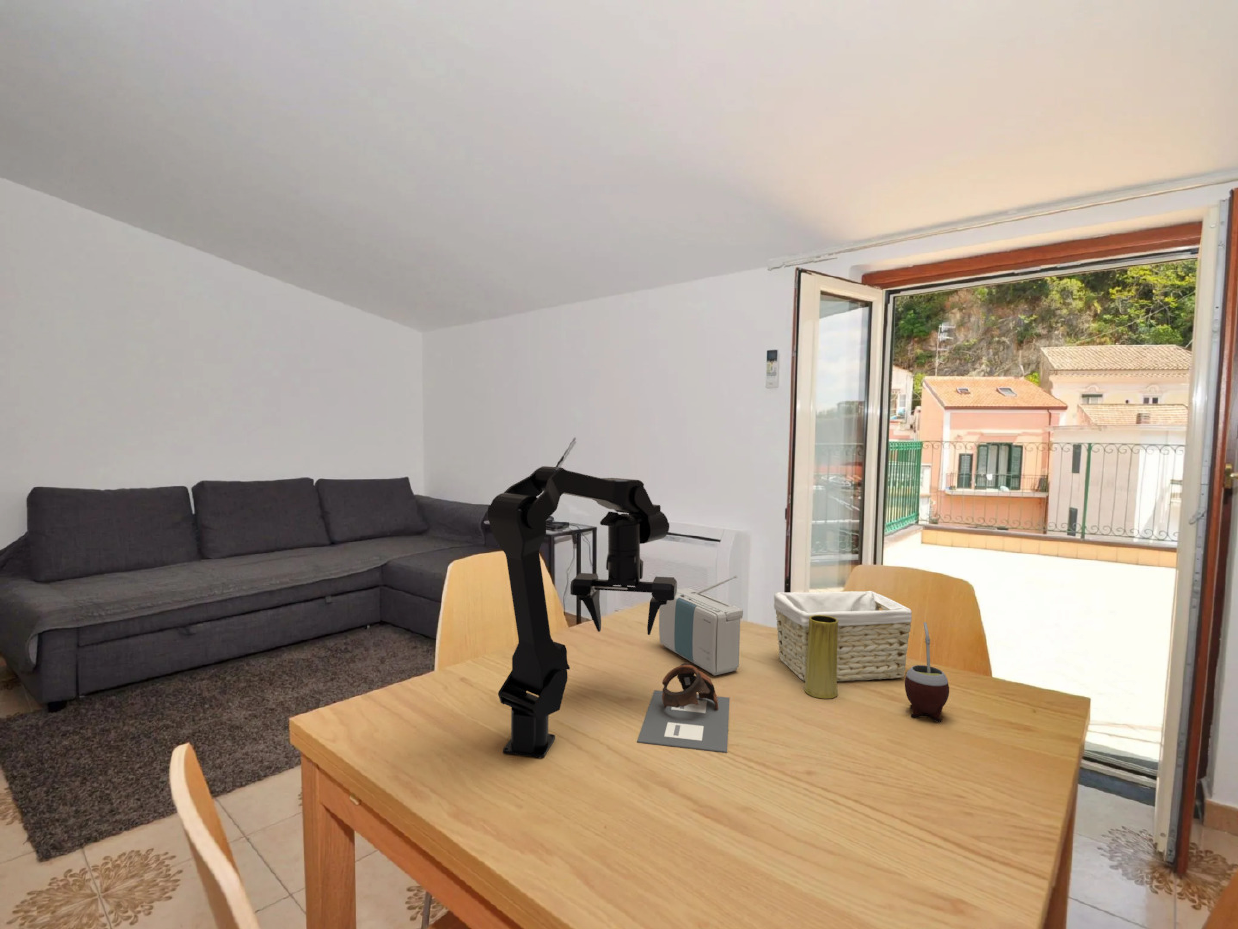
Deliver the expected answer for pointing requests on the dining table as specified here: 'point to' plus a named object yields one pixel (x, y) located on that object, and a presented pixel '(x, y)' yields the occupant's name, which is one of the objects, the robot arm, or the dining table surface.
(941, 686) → the mate gourd
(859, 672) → the storage basket
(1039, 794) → the dining table surface
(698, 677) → the brown curved piece
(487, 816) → the dining table surface
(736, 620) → the stereo radio cassette player
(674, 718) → the label mat
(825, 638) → the vase
